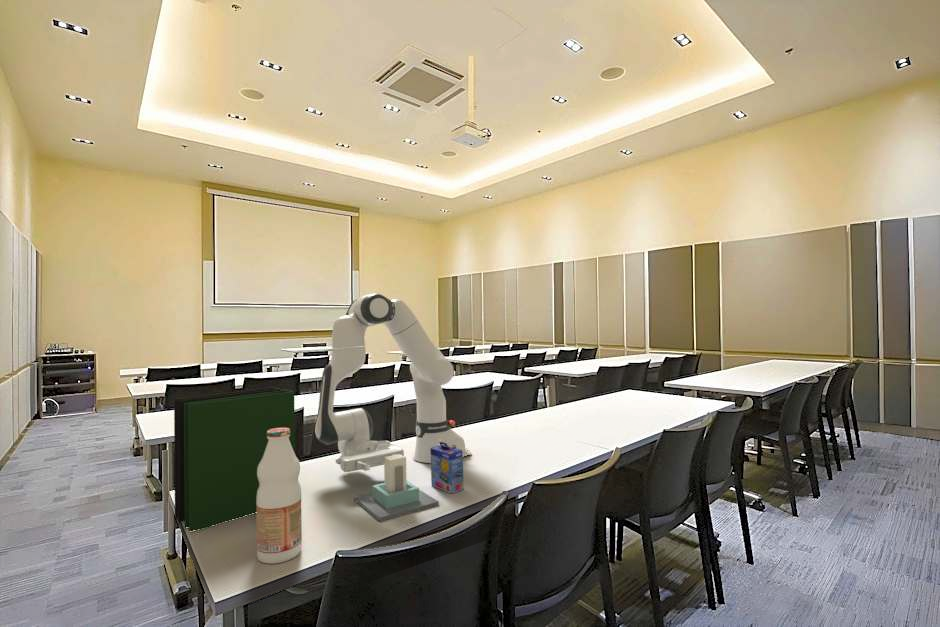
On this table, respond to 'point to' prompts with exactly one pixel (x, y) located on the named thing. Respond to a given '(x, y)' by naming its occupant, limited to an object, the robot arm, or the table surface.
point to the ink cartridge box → (447, 468)
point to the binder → (224, 451)
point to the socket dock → (394, 501)
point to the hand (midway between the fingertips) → (382, 464)
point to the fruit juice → (278, 500)
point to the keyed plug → (395, 473)
